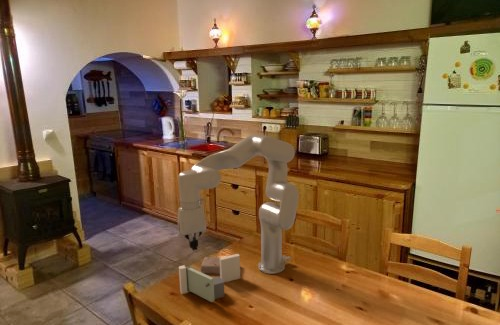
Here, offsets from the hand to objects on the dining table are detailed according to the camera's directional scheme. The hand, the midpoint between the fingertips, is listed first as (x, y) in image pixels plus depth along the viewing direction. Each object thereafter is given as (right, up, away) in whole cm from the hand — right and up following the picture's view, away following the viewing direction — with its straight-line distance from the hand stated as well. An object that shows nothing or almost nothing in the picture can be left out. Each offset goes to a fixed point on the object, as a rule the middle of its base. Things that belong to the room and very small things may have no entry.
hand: (194, 248), depth 139 cm
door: (+1, -21, +8) cm, 23 cm away
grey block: (+8, -21, +9) cm, 25 cm away
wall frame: (+5, -20, +17) cm, 26 cm away
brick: (+7, -17, +29) cm, 35 cm away
